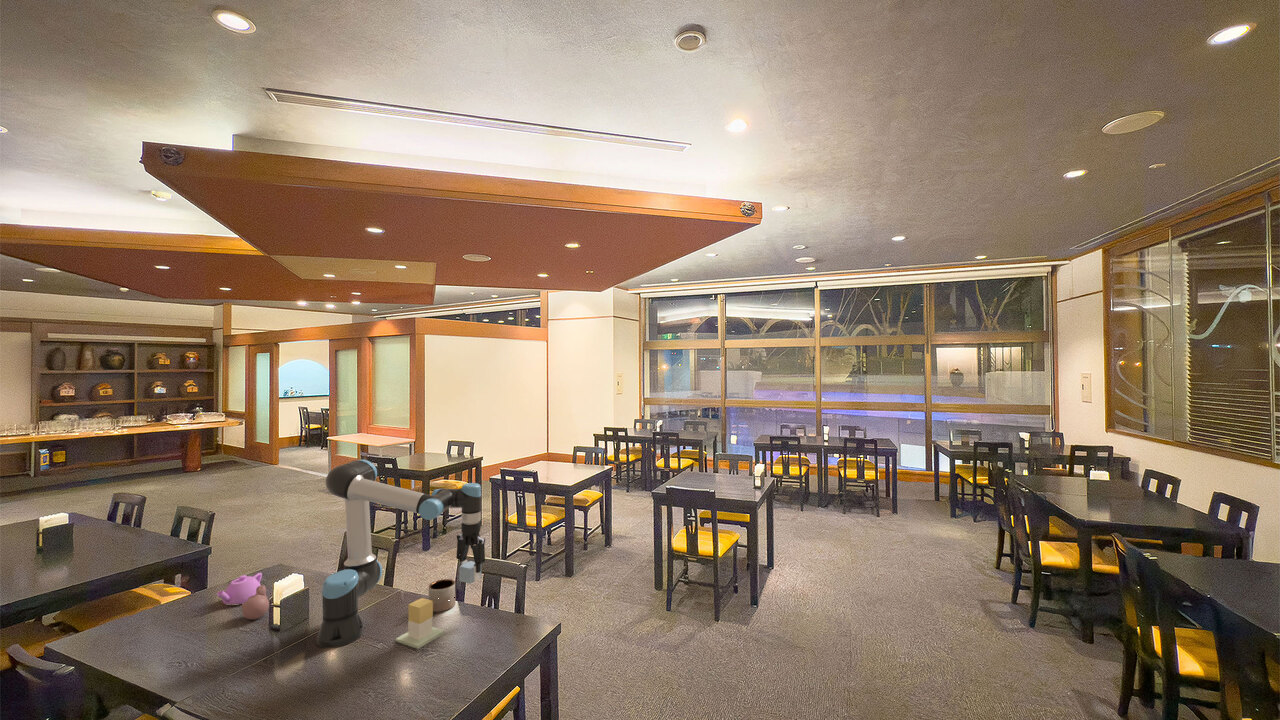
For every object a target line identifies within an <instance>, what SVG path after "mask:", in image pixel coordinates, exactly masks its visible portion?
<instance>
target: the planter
mask: <svg viewBox="0 0 1280 720" xmlns="http://www.w3.org/2000/svg"><path fill="white" fill-rule="evenodd" d="M429 596H430V597H429ZM427 597H428V600H431V601H433V613H441V612H446V611H449V610H450V609H452V608H454V607H455V605H456V581H455V580H454V579H450V578H444V579H439V580H435V581H433V582H431V583H430V584H429V585H428V596H427ZM454 597H455V598H454ZM438 598H439V599H438ZM448 600H450V601H448Z"/></svg>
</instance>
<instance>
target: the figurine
mask: <svg viewBox="0 0 1280 720" xmlns="http://www.w3.org/2000/svg"><path fill="white" fill-rule="evenodd" d="M240 608H241V612H242V615H243V617H244V618H245V619H247V620H258V619H259V618H262V617H263V616H265V614H266V613H267V612H268V610H269V608H270V601H269V599H268V597H267V589H266V586H265V585H261V586H258V587H257V589H256V594H255V596H251V597H249V598H248V600H247V601H246V602H245V603H243V604H242V605H240Z"/></svg>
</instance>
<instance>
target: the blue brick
mask: <svg viewBox="0 0 1280 720" xmlns="http://www.w3.org/2000/svg"><path fill="white" fill-rule="evenodd" d="M474 564H475V561H474V560H473V561H472V560H469V561H468V562H467V563H465V564H463V565H461V566H459V577H458V578H459V582H463V583H466V584H470V585H471V584H472V583H475V582H474V581H473V573H474ZM480 579H482V570H481V571H480Z"/></svg>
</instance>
